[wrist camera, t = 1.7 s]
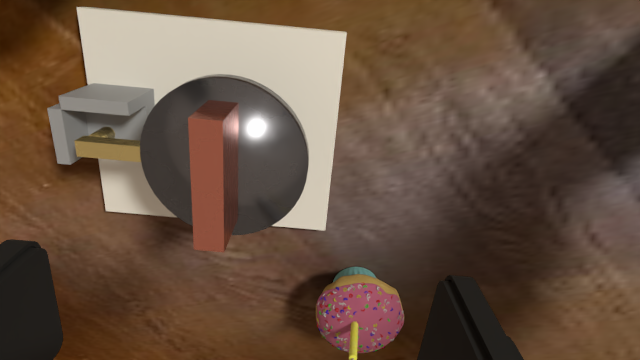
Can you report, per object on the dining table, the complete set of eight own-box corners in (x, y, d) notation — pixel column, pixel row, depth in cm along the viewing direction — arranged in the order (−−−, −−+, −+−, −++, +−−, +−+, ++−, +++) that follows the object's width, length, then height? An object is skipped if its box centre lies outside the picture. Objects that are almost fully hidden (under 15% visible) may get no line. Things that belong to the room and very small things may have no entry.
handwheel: (316, 75, 31) (311, 103, 23) (305, 214, 36) (297, 277, 28) (92, 54, 31) (9, 75, 23) (111, 197, 36) (49, 255, 28)
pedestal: (346, 31, 33) (349, 39, 28) (325, 224, 41) (324, 261, 35) (78, 6, 33) (26, 8, 27) (106, 204, 40) (70, 239, 35)
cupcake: (300, 274, 43) (290, 369, 32) (370, 236, 41) (384, 324, 30) (344, 327, 46) (348, 430, 35) (411, 294, 44) (438, 393, 33)
